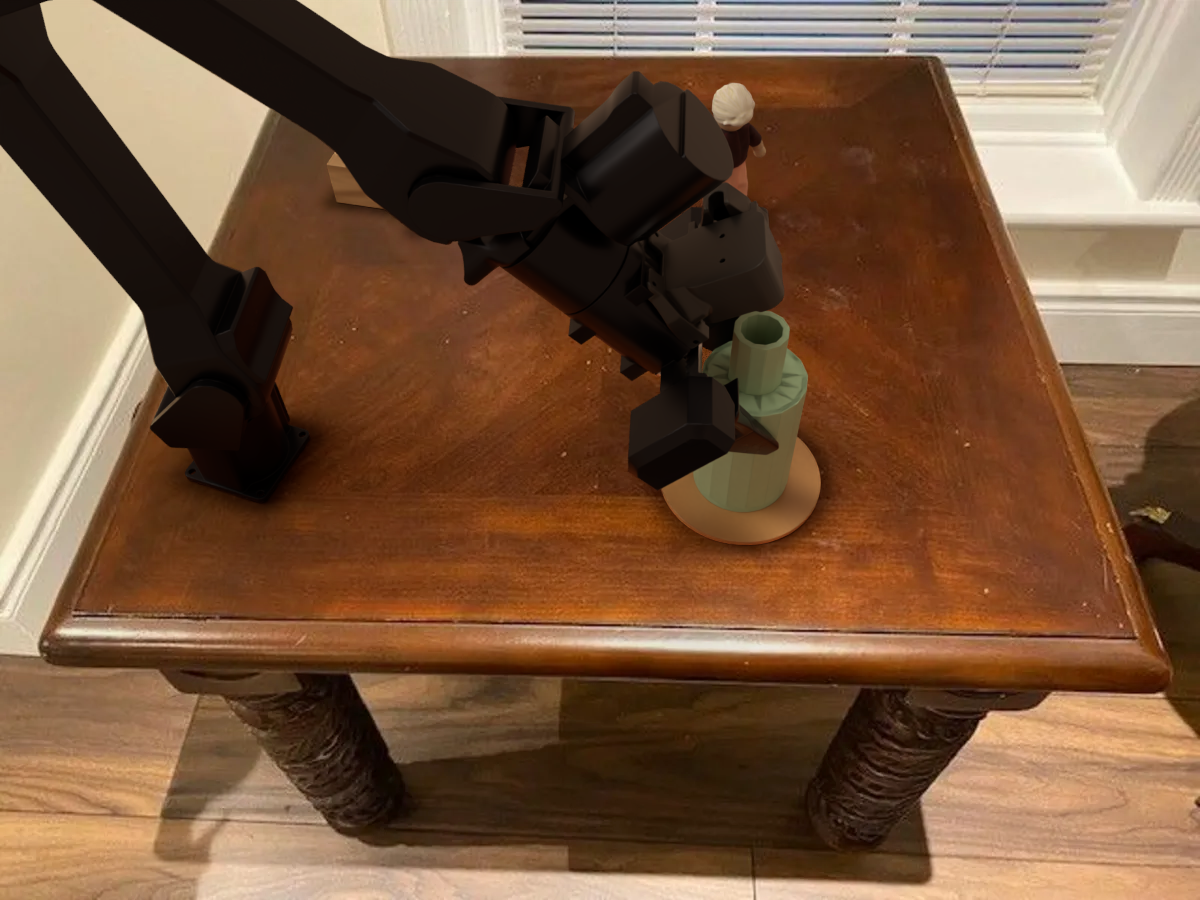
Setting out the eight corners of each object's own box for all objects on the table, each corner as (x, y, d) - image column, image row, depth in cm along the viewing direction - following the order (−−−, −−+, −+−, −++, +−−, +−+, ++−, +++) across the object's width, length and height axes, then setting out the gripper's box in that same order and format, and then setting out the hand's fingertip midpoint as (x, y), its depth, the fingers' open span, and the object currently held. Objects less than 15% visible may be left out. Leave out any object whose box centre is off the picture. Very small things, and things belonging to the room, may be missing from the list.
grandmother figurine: (728, 189, 91) (741, 57, 81) (765, 206, 89) (782, 74, 79) (676, 234, 87) (682, 102, 77) (713, 253, 86) (725, 120, 76)
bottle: (687, 505, 69) (700, 362, 58) (699, 432, 73) (713, 285, 62) (783, 518, 69) (814, 376, 58) (789, 444, 73) (820, 298, 62)
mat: (798, 565, 67) (799, 562, 67) (637, 517, 69) (637, 514, 69) (835, 441, 73) (836, 437, 73) (687, 401, 76) (687, 397, 75)
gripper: (701, 319, 47) (898, 475, 55) (703, 85, 58) (865, 243, 66) (539, 423, 53) (736, 549, 61) (569, 195, 65) (731, 326, 73)
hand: (771, 408), depth 65 cm, fingers closed on bottle, 6 cm apart
